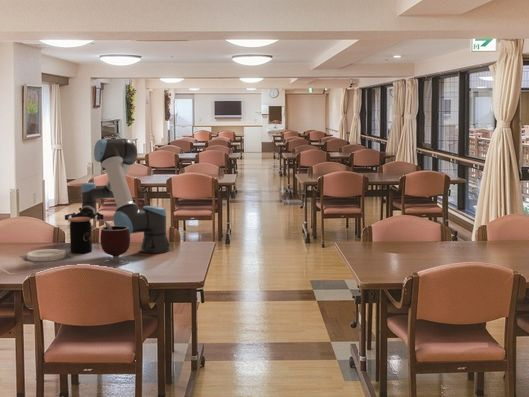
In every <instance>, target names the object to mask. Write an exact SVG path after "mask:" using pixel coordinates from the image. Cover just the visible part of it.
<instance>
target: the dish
mask: <svg viewBox="0 0 529 397" xmlns="http://www.w3.org/2000/svg"><path fill="white" fill-rule="evenodd" d="M26 255H27V259H29V260H32V261H51V260H58V259H62V258H65V256H66V255H67V252H66V250H63V249H57V248H56V249H55V248H53V249H52V248H50V249H46V248H45V249H37V250H32V251H29V252H27V254H26ZM58 261H59V260H58ZM51 262H52V261H51Z"/></svg>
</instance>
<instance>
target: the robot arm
mask: <svg viewBox="0 0 529 397" xmlns="http://www.w3.org/2000/svg"><path fill="white" fill-rule="evenodd" d="M93 156H94V160H95V162H98V163H100V165H101V167H102V168H103V169H105V172H106V175H107V181H106V183H105V185H96V183H95V182H84V183H82V184H81V209H80V211H79V212H77V213H76V212H72V213H69V214H65V215H64V220H65V221H67V223H70V218H74V217H90V218H91V220H94V222H95V223H97V222H98V221H100V220H102V221H103V220H104V214H103V213H99V212H97V211H98V210H97V206H96V204H97V203H96V202H97V201H96V200H103V199H114V201H115V204H116V209H115V210H114V211H115V212H114V214H113V217H112V218H113V226H126V227H129V232H130V235H131V234H139V233H143V237H142V242H141V246H140V252H142V253H145V254H147V253H148V254H162V253H167V252H170V251H171V244H170V242H169V239H168V236H167V210H166V208H164V207H162V206H156V205H155V206H154V205H144V206H143V207H142V209H139V207H138V204H137V203H135V202H134V201H133V196H132V193H131V190H130V188H129V184H128V181H127V178H126V175H127V174H128V172H129V170H130V168H131V166H132V165H134V164H135V162H136V161H137V158H138V149H137V146H136V144H135V143H134V142H133V141H132V140H130V139H128V138H108V139H107V138H103V139H98V140H97V141H96V143H95V145H94V149H93Z"/></svg>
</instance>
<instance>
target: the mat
mask: <svg viewBox="0 0 529 397" xmlns="http://www.w3.org/2000/svg"><path fill="white" fill-rule="evenodd" d="M19 258H22V259H24V260H26V261H28V262H30V263H32V264H35V265H36V264H42V263H49V262H57V261H65V260H73V259H74V257H73V256H70V255H68V254H66V256H65V258H62V259H58V260H51V261H32V260H29V259H27V254H26V255H19Z"/></svg>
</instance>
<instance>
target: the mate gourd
mask: <svg viewBox="0 0 529 397" xmlns="http://www.w3.org/2000/svg"><path fill="white" fill-rule="evenodd" d="M102 222H103V223H104V224H105V226H104V227H101V228H100V229H101V231H100V246H101V249H102V250H103V252H104V254H107V255H110V256H112V259H108V260H104V261H103V262H102V265H104V266H107V267H120V266H125V265H128V264H130V261H129V260H127V259H123V258H120V256H121V255H123V254H125V253H127V251H128V250H129V249H130V244H131V234H130V232H129V227H126V226H115V225H111V224H110V223H109V222H108V221H106V220H104V219H103V220H102Z"/></svg>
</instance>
